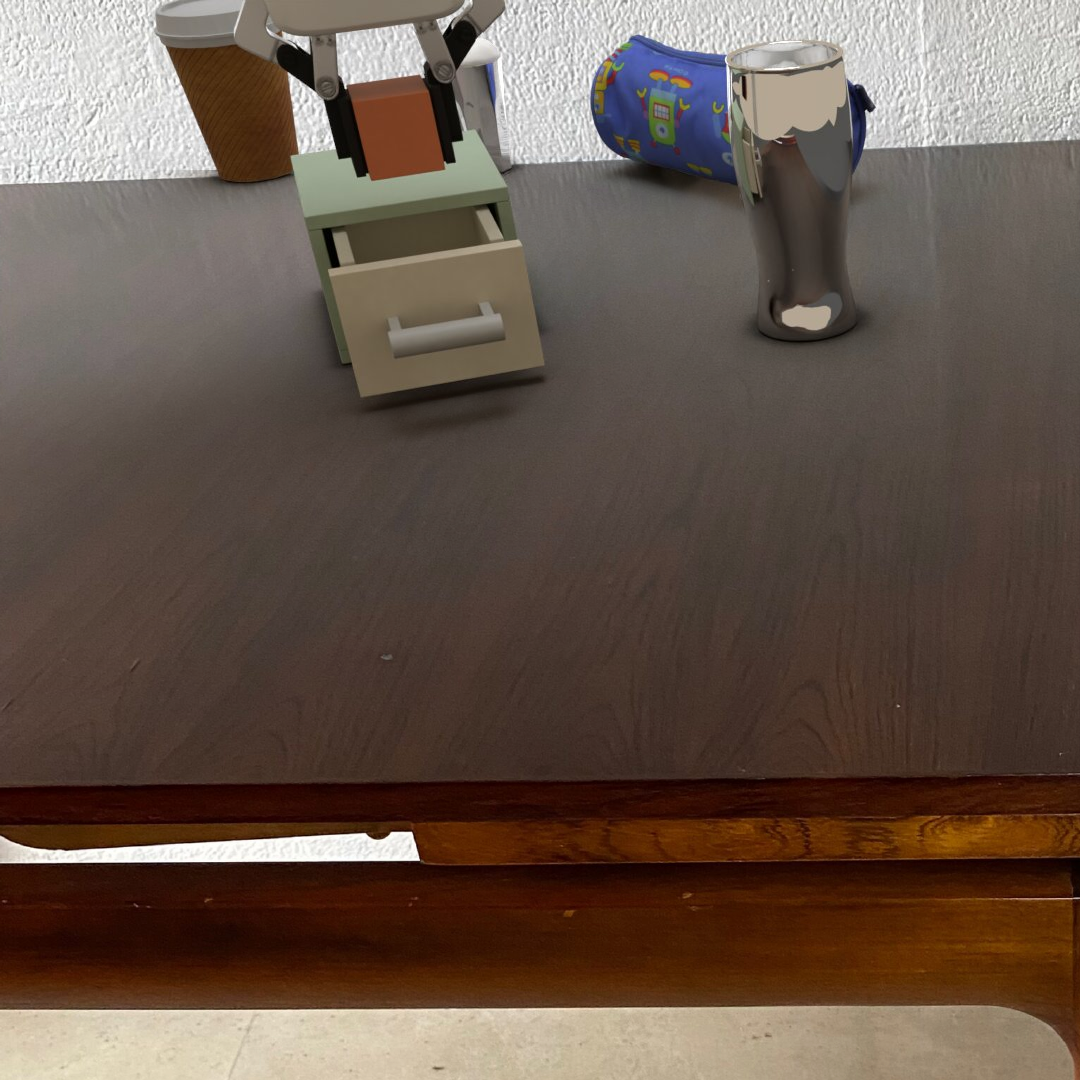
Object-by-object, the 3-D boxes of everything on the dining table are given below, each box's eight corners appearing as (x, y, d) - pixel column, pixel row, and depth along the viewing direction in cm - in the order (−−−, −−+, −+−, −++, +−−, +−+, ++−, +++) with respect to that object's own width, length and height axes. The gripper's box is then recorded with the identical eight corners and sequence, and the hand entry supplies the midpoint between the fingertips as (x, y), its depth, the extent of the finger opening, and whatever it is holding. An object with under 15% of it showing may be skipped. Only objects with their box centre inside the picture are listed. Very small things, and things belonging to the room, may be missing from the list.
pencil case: (884, 191, 124) (875, 46, 118) (801, 224, 119) (788, 75, 113) (675, 146, 136) (658, 12, 130) (592, 175, 131) (570, 37, 125)
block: (445, 170, 94) (428, 91, 91) (371, 181, 93) (352, 102, 90) (436, 151, 97) (420, 74, 94) (364, 162, 96) (345, 84, 93)
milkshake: (462, 160, 136) (435, 21, 130) (528, 159, 135) (503, 19, 129) (443, 178, 132) (413, 35, 126) (510, 177, 132) (483, 34, 125)
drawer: (557, 392, 96) (535, 268, 92) (367, 425, 94) (335, 300, 89) (511, 296, 108) (489, 184, 104) (342, 324, 106) (313, 210, 102)
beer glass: (756, 304, 107) (728, 41, 98) (867, 300, 107) (850, 35, 98) (744, 346, 102) (714, 72, 93) (862, 342, 102) (843, 66, 92)
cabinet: (535, 332, 106) (507, 186, 100) (342, 364, 103) (303, 216, 98) (501, 264, 116) (475, 129, 111) (325, 292, 113) (290, 155, 108)
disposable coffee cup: (302, 185, 133) (258, 14, 125) (181, 192, 133) (129, 21, 126) (335, 150, 140) (295, -14, 133) (220, 156, 141) (173, -7, 133)
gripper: (476, -257, 88) (543, 124, 99) (133, -222, 84) (244, 169, 96) (498, -244, 82) (567, 158, 94) (131, -206, 79) (250, 207, 90)
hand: (403, 160), depth 95 cm, fingers closed on block, 4 cm apart
